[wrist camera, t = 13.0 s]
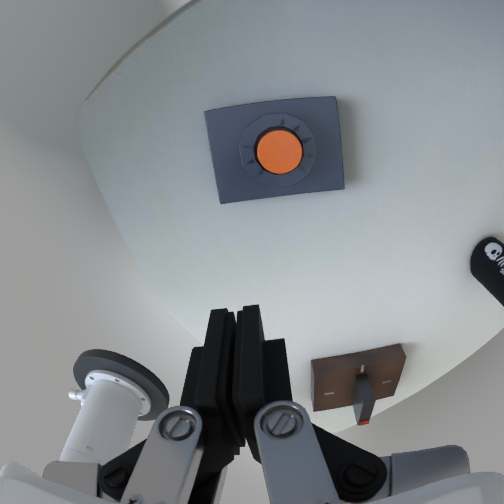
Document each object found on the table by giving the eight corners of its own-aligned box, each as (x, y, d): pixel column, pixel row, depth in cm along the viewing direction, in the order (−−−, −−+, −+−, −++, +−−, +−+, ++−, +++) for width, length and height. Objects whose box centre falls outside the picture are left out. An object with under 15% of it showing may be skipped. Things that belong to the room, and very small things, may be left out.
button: (260, 172, 24) (260, 176, 23) (254, 132, 23) (254, 133, 21) (301, 168, 24) (304, 171, 23) (296, 127, 23) (299, 128, 21)
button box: (222, 198, 29) (217, 210, 26) (207, 112, 25) (199, 110, 22) (338, 184, 28) (350, 194, 25) (330, 98, 24) (341, 94, 21)
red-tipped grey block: (355, 375, 36) (363, 404, 32) (367, 373, 36) (376, 401, 32) (351, 400, 39) (357, 426, 34) (361, 398, 39) (369, 423, 34)
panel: (311, 399, 43) (313, 413, 40) (311, 358, 39) (313, 374, 36) (388, 384, 42) (393, 397, 39) (400, 341, 38) (407, 355, 35)
